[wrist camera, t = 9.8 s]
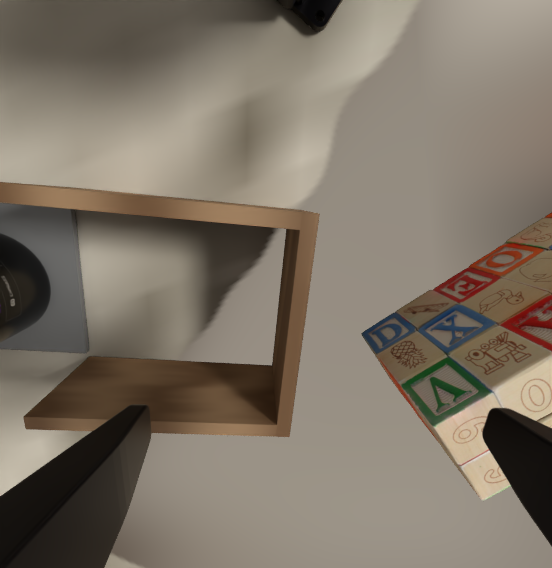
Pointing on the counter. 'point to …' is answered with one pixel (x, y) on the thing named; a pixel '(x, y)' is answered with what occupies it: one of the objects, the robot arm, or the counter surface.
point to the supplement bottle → (20, 287)
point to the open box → (185, 374)
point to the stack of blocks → (477, 350)
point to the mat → (51, 277)
